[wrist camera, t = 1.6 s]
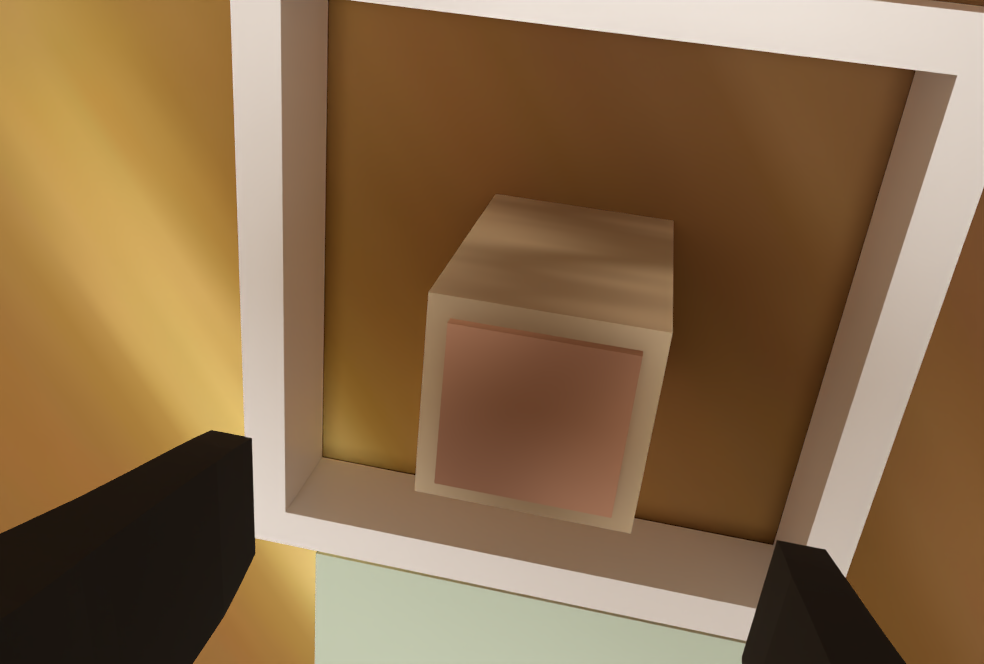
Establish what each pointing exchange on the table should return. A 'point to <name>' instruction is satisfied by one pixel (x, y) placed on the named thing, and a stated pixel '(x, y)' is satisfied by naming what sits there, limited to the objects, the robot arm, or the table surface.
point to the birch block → (547, 361)
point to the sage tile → (482, 624)
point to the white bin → (651, 546)
